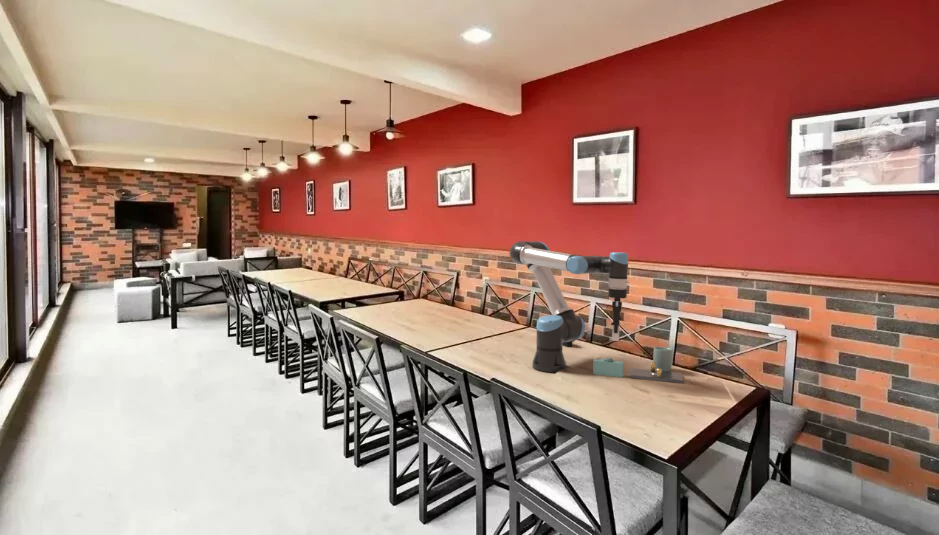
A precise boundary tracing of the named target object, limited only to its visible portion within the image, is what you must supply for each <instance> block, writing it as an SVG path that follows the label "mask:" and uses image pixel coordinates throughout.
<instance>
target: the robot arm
mask: <svg viewBox="0 0 939 535" xmlns="http://www.w3.org/2000/svg"><path fill="white" fill-rule="evenodd" d="M509 256H510V259H511V261H512V262H513V263H515V264H516V265H525V266H526V267H527V270H528V271H529V272H531V273H533V275H534V278H535V280H536V281H537V285H538V286H539V289H540V290H541V293H542V295H543V298H544V300H545V302H546V304H547V306H548V309H549V311H550V312H551V314H550V315H542V316H540V317H539V318H538V319H537V321H536V348H535V349H536V351H535V354H534V357H533V359H532V364H531V365H532V369H534V370H537V371H540V372H545V373H546V372H549V373H557V372H560V371H565V370H566V369H567V363H566V360H565V356H564V353H563V346H562V343H564V342H569V341H572V342H575V341H577V340H578V341H579V340H580V339H582V337H583V336H584V334H585V331H586V323H585V321H584V319H583V318H582V317H581V316H579V315H577V314H576V313H575V311H574V309H573V308H570V307H569V306H568V303H567V301H566V299H565V297H564V295H563V293H562V291H561V288H560V287H559V284H558V282H557V280H556V277H555V276H554V273H553V271H552V269H556V270H561V271H565V272H569V273H571V274H574V275H587V274H606V275H608V291H607V292H608V293H607V296H608V297H609V298H611V299H613V301H612V303H611V306H612V312H613V315H612V318H613V319H612V322H611V323H610V326H612V331H611V332H612V333H611V341H613V342H619V341H620V324H621V321H622V317H621V315H620V314H621V312H622V307H623V302H622V301H621V299H627V297H628V290H627V288H628V284H629V283H630V282H629V280H628V274H629V271H628V270H629V269H628V268H629V254H628V253H627V252H616V251H615V252H610V253H609V256H604V255H603V256H602V255H600V256H599V255H588V256H586V255H577V254H572V253H571V254H570V253H567V252H566V253H564V252H560V251H553V250H550V248H549V246H548V245H547V243H544V242H543V241H542V242H541V241H537V240H534V241H524V240H520V241H517V242H515V243H513V244H512V245H511V246H510V249H509Z"/></svg>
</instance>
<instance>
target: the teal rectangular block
mask: <svg viewBox="0 0 939 535" xmlns="http://www.w3.org/2000/svg"><path fill="white" fill-rule="evenodd" d="M592 374H593V375H597V376H605V377H606V376H607V377H614V378H615V377H616V378H623V377H624V361H623V360H614V359H613V358H611V357H604V359H603V358H602V359H601V358H594V359H593V362H592Z"/></svg>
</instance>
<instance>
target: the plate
mask: <svg viewBox="0 0 939 535" xmlns="http://www.w3.org/2000/svg"><path fill="white" fill-rule="evenodd" d="M629 375H630V376H629V378H630V379H638V380H646V381H647V380H649V381H650V380H651V381H657V382H668V383H677V384H684V378H683V375H682V373H681V372H675V371H668V372H666V371H662V369H660V368H657V370H656V369H655V362H654V361H652V362H650V369H646V368H645V369H644V368H634V367H631V368H630V374H629Z"/></svg>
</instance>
